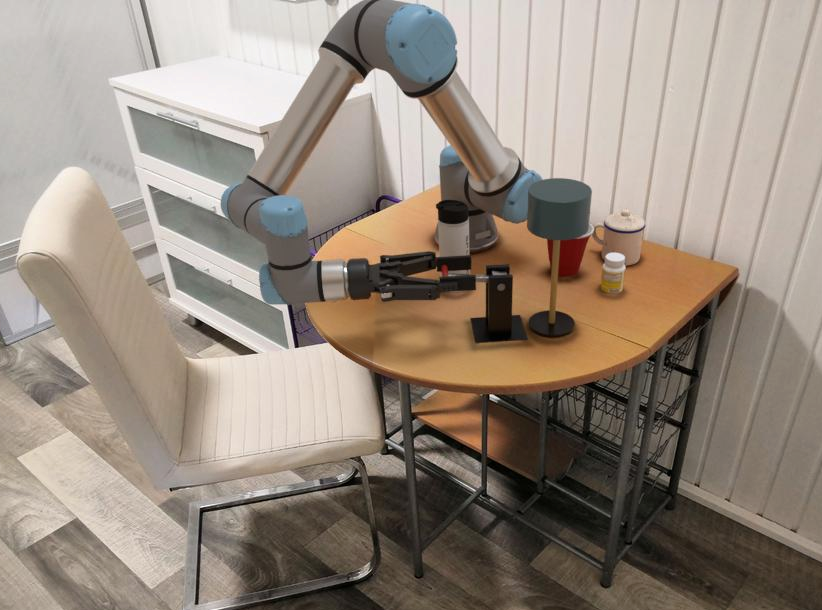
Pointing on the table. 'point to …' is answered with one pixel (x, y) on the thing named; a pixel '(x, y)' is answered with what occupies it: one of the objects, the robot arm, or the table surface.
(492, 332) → the switch base
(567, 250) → the plastic cup
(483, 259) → the table surface
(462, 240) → the travel mug
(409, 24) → the robot arm
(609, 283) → the supplement bottle
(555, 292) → the desk lamp
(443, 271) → the switch lever
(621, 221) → the lidded enamel mug
